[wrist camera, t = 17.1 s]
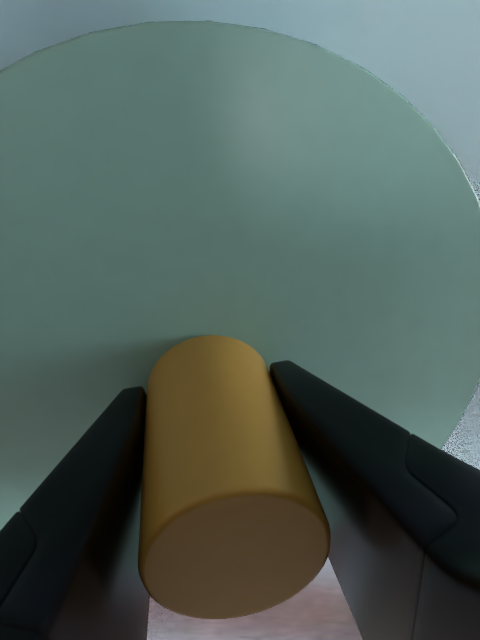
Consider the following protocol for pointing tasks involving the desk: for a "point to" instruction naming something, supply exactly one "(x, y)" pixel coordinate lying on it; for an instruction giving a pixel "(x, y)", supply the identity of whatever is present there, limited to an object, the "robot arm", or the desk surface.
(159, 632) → the desk surface
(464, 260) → the lid
